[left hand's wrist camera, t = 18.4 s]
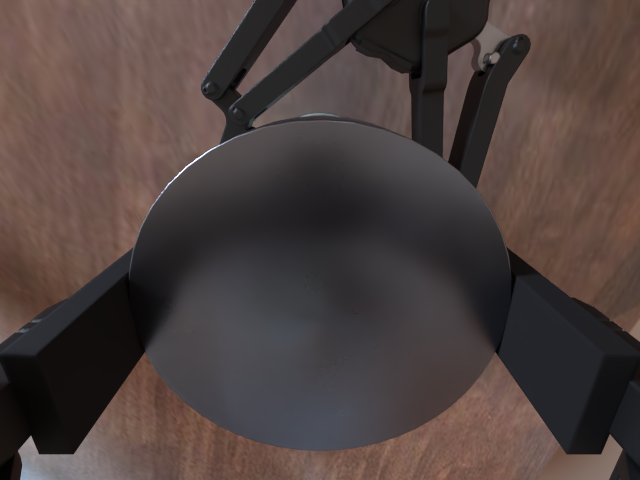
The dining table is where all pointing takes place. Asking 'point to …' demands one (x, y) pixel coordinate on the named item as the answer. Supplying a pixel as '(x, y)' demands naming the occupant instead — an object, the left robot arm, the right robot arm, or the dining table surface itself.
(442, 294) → the lid
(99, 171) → the dining table surface
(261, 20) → the right robot arm
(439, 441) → the dining table surface
